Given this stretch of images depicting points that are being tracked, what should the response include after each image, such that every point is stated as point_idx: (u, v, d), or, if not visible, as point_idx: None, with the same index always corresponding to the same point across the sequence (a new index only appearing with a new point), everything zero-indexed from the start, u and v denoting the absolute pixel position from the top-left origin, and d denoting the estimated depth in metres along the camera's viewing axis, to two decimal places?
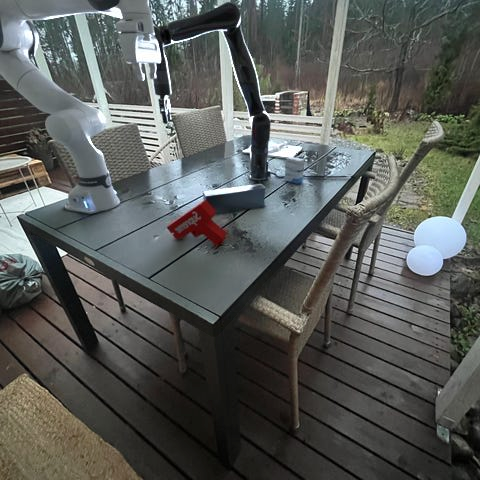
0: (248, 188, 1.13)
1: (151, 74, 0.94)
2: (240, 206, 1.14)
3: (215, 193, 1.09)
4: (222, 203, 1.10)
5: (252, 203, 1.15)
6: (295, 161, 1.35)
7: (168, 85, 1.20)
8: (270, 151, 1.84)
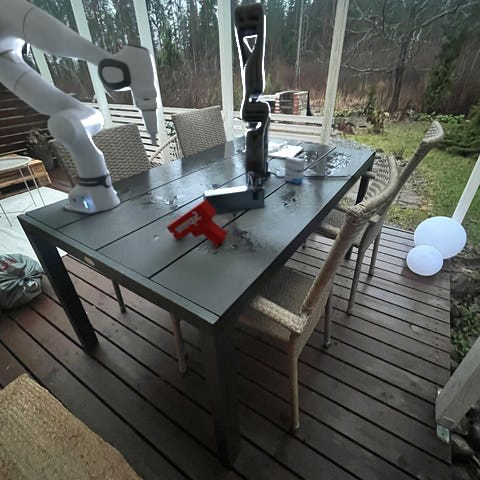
0: (248, 188, 1.13)
1: None
2: (240, 206, 1.14)
3: (215, 193, 1.09)
4: (222, 203, 1.10)
5: (252, 203, 1.15)
6: (295, 161, 1.35)
7: None
8: (270, 151, 1.84)
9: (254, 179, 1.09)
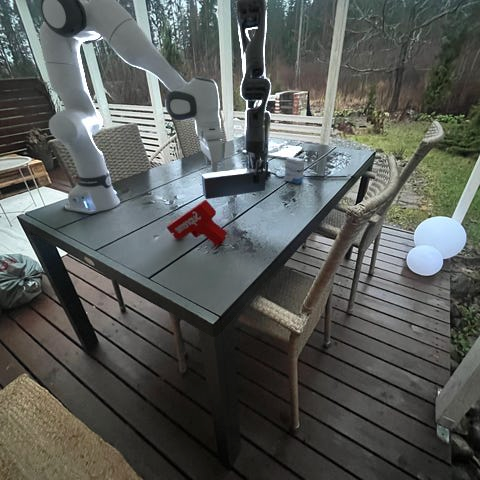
0: (249, 170, 1.10)
1: (208, 161, 1.07)
2: (240, 190, 1.10)
3: (214, 175, 1.05)
4: (221, 186, 1.07)
5: (252, 187, 1.11)
6: (295, 161, 1.35)
7: None
8: (270, 151, 1.84)
9: (254, 161, 1.05)
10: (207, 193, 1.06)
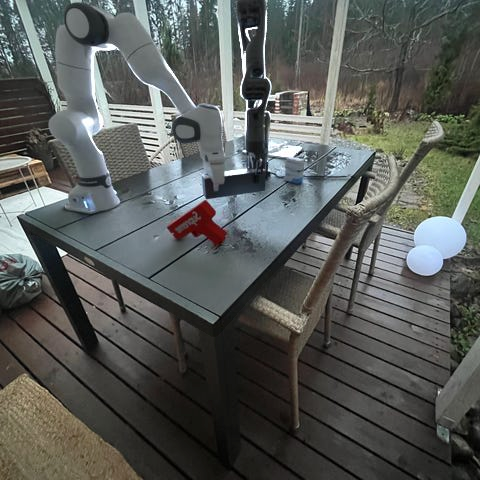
0: (249, 170, 1.10)
1: None
2: (240, 190, 1.10)
3: None
4: (221, 186, 1.07)
5: (253, 187, 1.11)
6: (295, 161, 1.35)
7: None
8: (270, 151, 1.84)
9: (255, 161, 1.05)
10: (207, 193, 1.06)
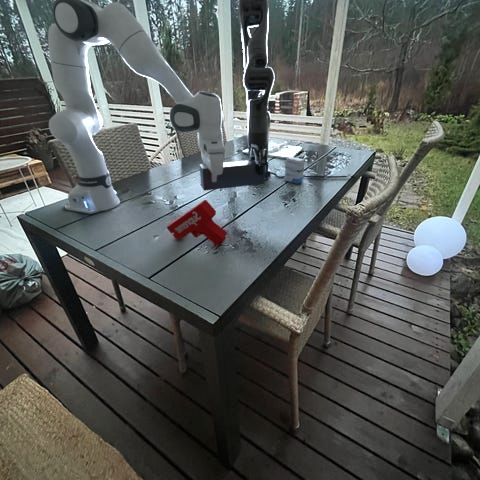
0: (248, 162, 1.08)
1: None
2: (239, 182, 1.08)
3: None
4: (219, 178, 1.05)
5: (251, 179, 1.09)
6: (295, 161, 1.35)
7: None
8: (270, 151, 1.84)
9: (257, 153, 1.03)
10: (205, 184, 1.04)
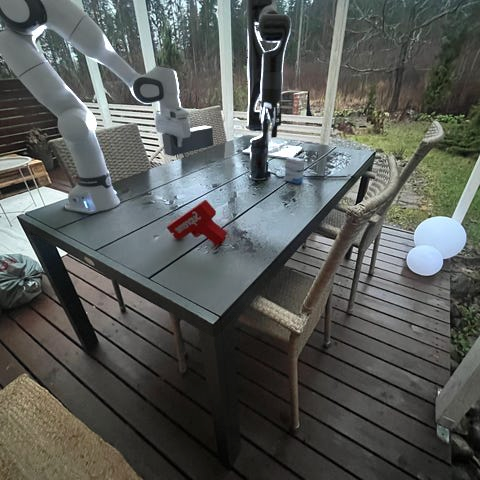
0: (199, 128, 1.28)
1: None
2: (196, 146, 1.27)
3: None
4: (182, 143, 1.21)
5: (204, 142, 1.30)
6: (295, 161, 1.35)
7: None
8: (270, 151, 1.84)
9: (271, 112, 0.97)
10: (172, 150, 1.18)
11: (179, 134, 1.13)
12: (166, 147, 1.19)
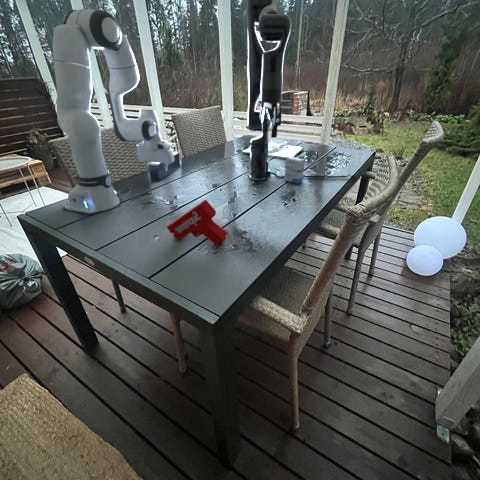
0: None
1: None
2: (171, 169, 1.56)
3: None
4: None
5: (175, 165, 1.60)
6: (295, 161, 1.35)
7: None
8: (270, 151, 1.84)
9: (271, 112, 0.97)
10: (159, 176, 1.44)
11: (166, 161, 1.40)
12: (153, 174, 1.44)
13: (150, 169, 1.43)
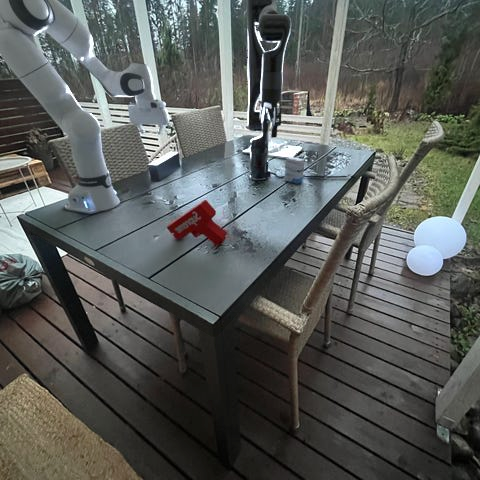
0: (170, 155, 1.56)
1: (143, 130, 1.36)
2: (171, 169, 1.56)
3: (158, 162, 1.44)
4: (164, 169, 1.48)
5: (175, 165, 1.60)
6: (295, 161, 1.35)
7: None
8: (270, 151, 1.84)
9: (271, 112, 0.97)
10: (159, 176, 1.44)
11: (160, 122, 1.30)
12: (153, 174, 1.44)
13: (150, 169, 1.43)
